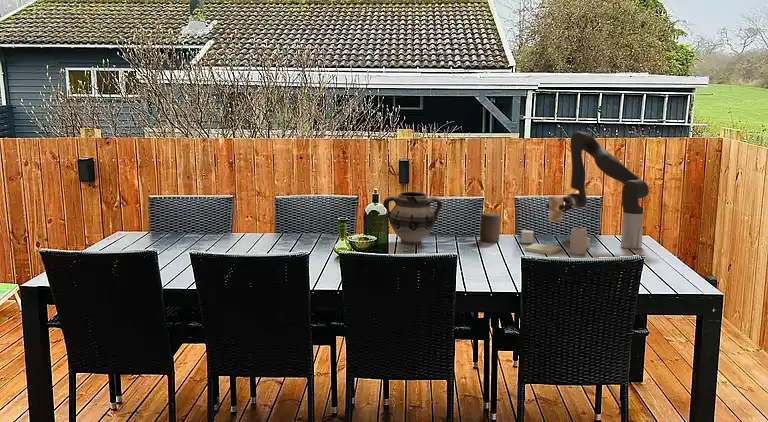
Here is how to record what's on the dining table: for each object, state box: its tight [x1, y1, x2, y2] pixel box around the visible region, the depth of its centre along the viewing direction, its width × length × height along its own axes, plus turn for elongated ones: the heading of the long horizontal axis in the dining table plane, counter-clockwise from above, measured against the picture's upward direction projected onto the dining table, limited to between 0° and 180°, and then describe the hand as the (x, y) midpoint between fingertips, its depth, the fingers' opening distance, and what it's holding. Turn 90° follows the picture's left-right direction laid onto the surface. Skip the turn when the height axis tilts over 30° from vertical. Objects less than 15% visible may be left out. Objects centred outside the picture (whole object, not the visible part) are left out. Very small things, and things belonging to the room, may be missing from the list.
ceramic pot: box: [382, 190, 443, 246], centre depth 337 cm, size 29×23×25 cm
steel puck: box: [586, 236, 591, 251], centre depth 334 cm, size 6×6×5 cm
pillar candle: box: [479, 211, 501, 244], centre depth 347 cm, size 10×10×15 cm
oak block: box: [548, 195, 564, 223], centre depth 338 cm, size 5×5×12 cm
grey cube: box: [520, 229, 534, 244], centre depth 348 cm, size 6×6×6 cm
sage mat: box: [524, 243, 562, 255], centre depth 328 cm, size 13×13×2 cm
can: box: [569, 227, 588, 256], centre depth 321 cm, size 8×8×12 cm
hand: (554, 207), depth 335 cm, fingers closed on oak block, 5 cm apart
